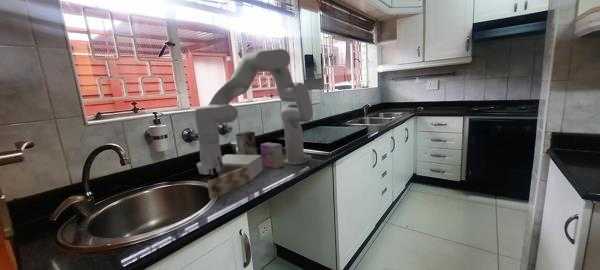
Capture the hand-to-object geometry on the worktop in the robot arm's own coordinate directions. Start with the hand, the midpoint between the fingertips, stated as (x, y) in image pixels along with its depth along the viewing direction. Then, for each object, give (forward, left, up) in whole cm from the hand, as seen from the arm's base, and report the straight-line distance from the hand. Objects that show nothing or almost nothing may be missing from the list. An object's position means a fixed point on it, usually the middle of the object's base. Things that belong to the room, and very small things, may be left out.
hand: (215, 183), depth 102 cm
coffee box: (+10, -44, -5) cm, 46 cm away
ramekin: (+21, -23, -5) cm, 32 cm away
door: (-5, -4, -4) cm, 8 cm away
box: (-9, -36, -5) cm, 38 cm away
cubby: (+3, -21, -5) cm, 22 cm away
